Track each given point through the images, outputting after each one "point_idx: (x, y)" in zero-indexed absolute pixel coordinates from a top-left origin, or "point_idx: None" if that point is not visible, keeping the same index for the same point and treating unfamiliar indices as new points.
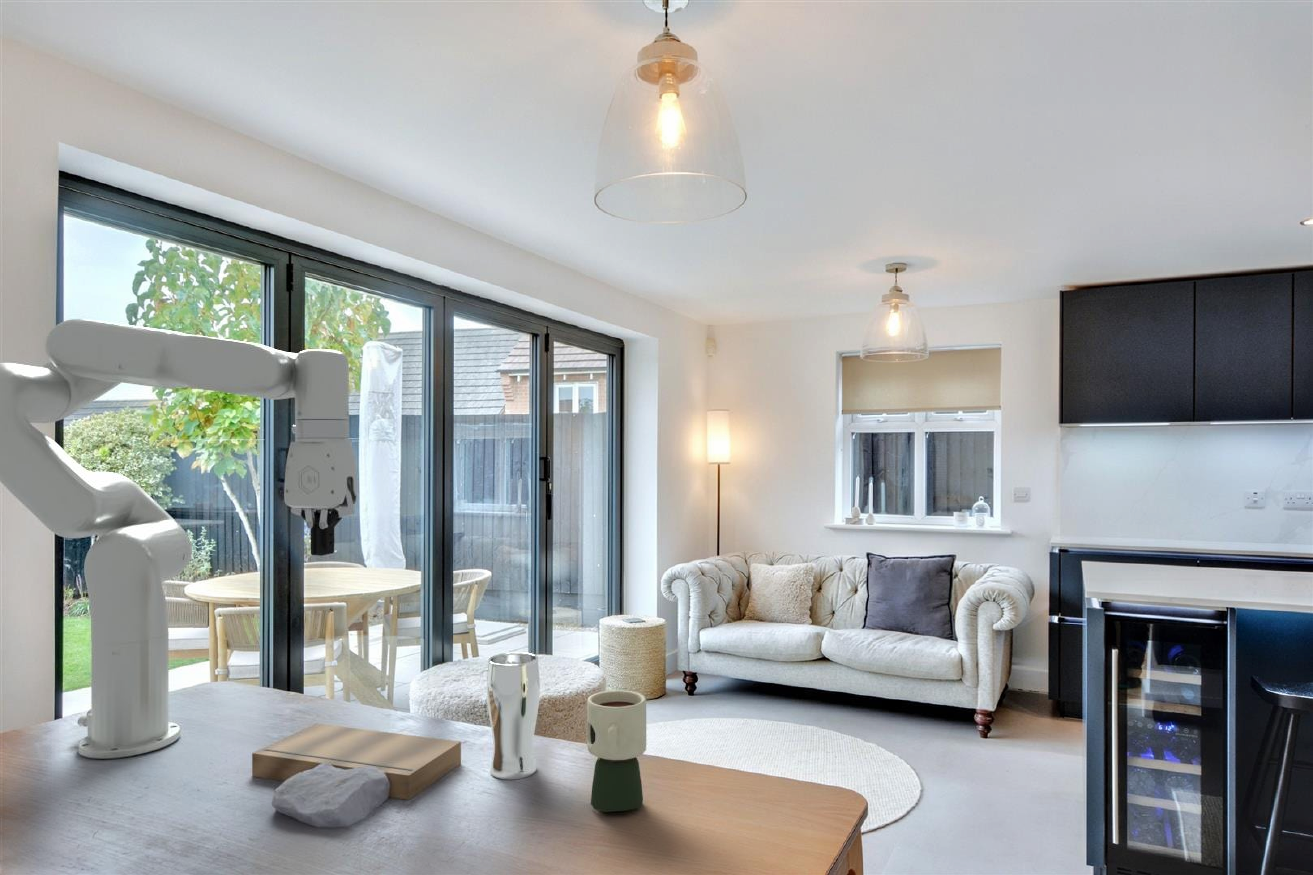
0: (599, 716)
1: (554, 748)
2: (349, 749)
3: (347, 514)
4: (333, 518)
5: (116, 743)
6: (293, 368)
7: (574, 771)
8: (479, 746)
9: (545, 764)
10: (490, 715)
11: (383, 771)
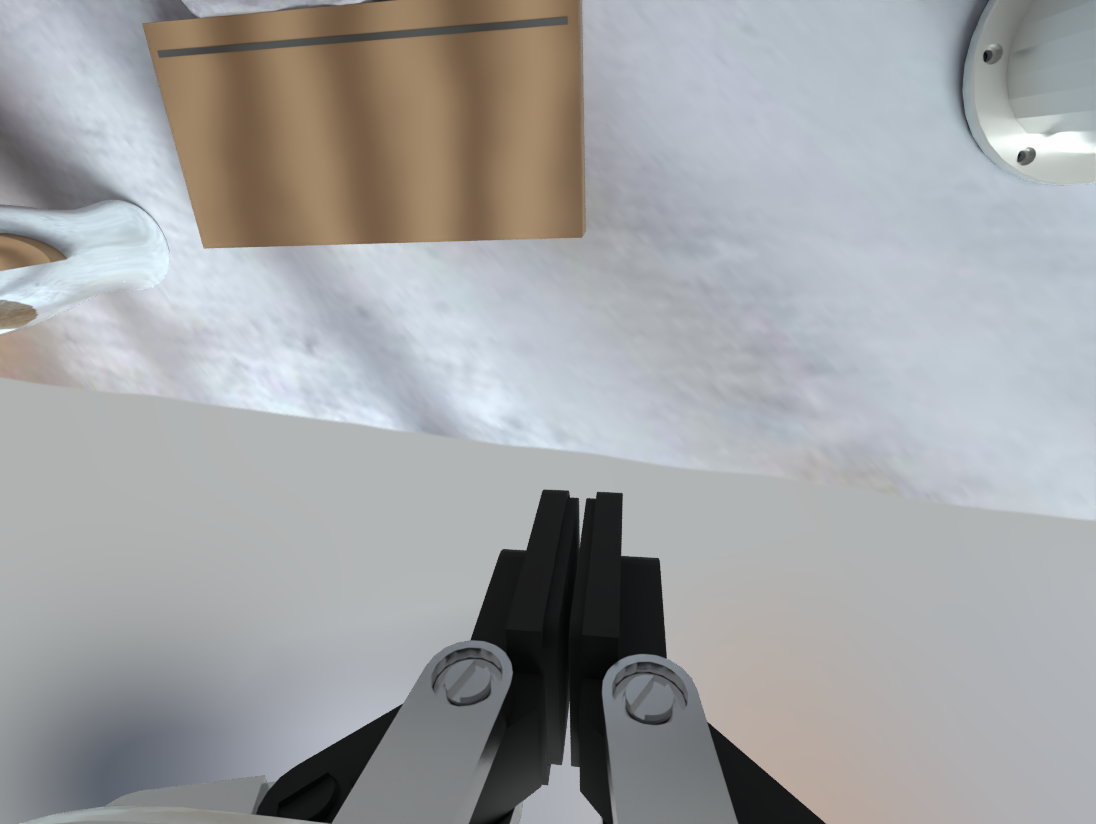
0: None
1: (148, 366)
2: (374, 111)
3: (125, 798)
4: (333, 759)
5: None
6: None
7: None
8: (268, 333)
9: None
10: (32, 216)
11: (195, 11)
